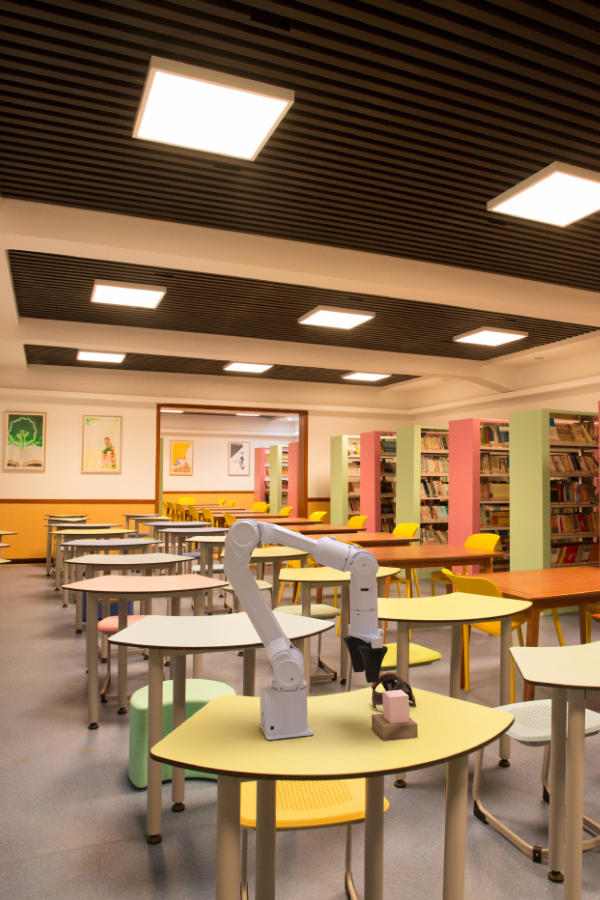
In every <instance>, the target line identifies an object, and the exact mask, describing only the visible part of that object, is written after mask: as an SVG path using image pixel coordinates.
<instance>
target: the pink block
mask: <svg viewBox="0 0 600 900" xmlns="http://www.w3.org/2000/svg"><path fill="white" fill-rule="evenodd" d="M381 693H382V695H383V705H382V714H383V717H384V718H385V719H386V720H387V721H388V722H389V723H390V724H395V723H405V722H410V720H409V717H410V701H409V696H408V695H407V694H406V693H404V692H403V691H402V690H394V691H385V690H384V691H382V692H381Z"/></svg>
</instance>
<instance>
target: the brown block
mask: <svg viewBox="0 0 600 900" xmlns="http://www.w3.org/2000/svg"><path fill="white" fill-rule="evenodd" d="M409 720H410V722H405V723H395V724H390V723H389V722H388V721H387V720H386V719H385V718H384V717H383V713H378V714H377V713H375V714H371V729H372V730H373V731H374V733H376V735H377V736H379V738H380V739H381V740H382V741H383V742H387V741H398V740H406V739H417V738H419V737H418V736H419V735H418V732H419V731H418V723H417V722H416V721H415V720H414V719H413V718H412V717H410V716H409Z"/></svg>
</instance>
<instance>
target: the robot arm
mask: <svg viewBox="0 0 600 900" xmlns="http://www.w3.org/2000/svg"><path fill="white" fill-rule="evenodd" d="M260 542H261V543H260ZM259 543H260V544H261V546H264V545H269V544H280V545H283V546H285V547H289V548H292V549H295V550H299V551H301V552H304V553H307V554H310V555H312V557H313V559H314V561H315V562H316V563H317V564H319V565H322V566H325V567H327V568H331V569H333V570H337V571H339V572H343V573H346V572H349V573H350V574H349V575H350V576H349V577H350V585H349V587H348V588H349V621H350V623H349V624H347V629H348V630H347V633H348V635H349V636H344V637H343V638H342V639H343V642H344V643H345V646H346V648H347V650H348V653H349V656H350V662H351V666H352V670H353V672H354V673H364V675H365V680H366V682H367V683H368V684H369V683H371V684H372V683H374V682H378V679H379V676H380V673H381V672H380V671H381V667H382V663H383V661H384V659H385V656H386V654H387V652H388V646H387V645H384V644H383V637H382V636H381V635H382V634H384V633H385V631H384V629H382V628H379V616H378V615H379V608H378V586H377V581H378V580H377V574H378V572H379V569H380V565H379V564H378V563H379V562H378V559H377V558H376V556H375V555H374V554H373V553H372V552H370V551H368V550H366V549H365V548H362V547H361V548H359V545H358V544H354V543H353V544H352V545H351V544H349V543H345V542H342V541H339V540H337V537H336V536H334V535H330V536H329V537H328V536H326V535H325V536H322V537H320V538H319V539H315V538H313V537H309V536H307V535H304V534H302V533H299V532H297V531H294V530H291V529H289V528H287V527H283V526H281V525H278V524H276V523H271V522H266V521H260V520H259V521H257V520H255V519H253V518H243V519H238V520H236V521H234V522H233V523H232V524H231V525H230V527H229V529H228V531H227V533H226V536H225V538H224V554H223V572H224V574H225V577H226V578H227V580H228V582H229V584H230V586H231V587H232V590H233V591H234V593H235V595H236V597H237V599H238V601H239V602H240V604H241V606H242V608H243V610H244V612H245V613H246V616H247V617H248V618H249V621H250V623H251V624H252V626H253V628H254V630H255V632H256V634H257V635H258V637H259V640H260V641H261V643H262V645H263V646H264V648H265V652H266V655H267V658H268V660H269V663H270V665H271V669H272V678H273V680H272V681H271V685H269V686H267V687H265V686H264V687H262V688H261V689H260V693H259V695H260V697H259V699H260V700H259V701H260V702H259V703H260V704H259V705H260V714H259V715H260V717H259V718H260V723H259V727H260V729H261V731H262V732H263V735H264V737H265V739H266V740H267V741H272V740H280V739H287V738H291V739H292V738H297V737H298V738H299V737H307V736H314V735H315V734H314V731H313V729H312V728H311V727H310V725H309V724H308V681H307V680H305V673H306V671H305V656H304V655H303V652H302V651H301V650H300V649H299V648H297V647H296V646H294V645H293V644H292V642H291V640H290V638H288V636H287V634H286V633H285V632H284V630H283V628H282V627H281V625H280V623H279V621H278V619H277V618H276V616H275V614H274V612H273V611H272V609H271V607H270V605H269V603H268V601H267V599H266V598H265V595H264V594H263V592H262V590H261V588H260V587H259V585H258V583H257V581H256V579H255V577H254V575H253V574H252V572H251V570H250V568H249V565H250V562H251V558H252V555H253V552H254V550H255V549H256V548H257V546H258V545H259Z"/></svg>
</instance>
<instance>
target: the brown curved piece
mask: <svg viewBox="0 0 600 900" xmlns="http://www.w3.org/2000/svg"><path fill="white" fill-rule="evenodd" d="M380 684H381V686H382V687H383V689H384V691H394V690H402V691H403V692H404V693H406V694H407V695H408V696H409V702H411V703H412V704H413V707H414V706H416V707H417V703H416V698H415V695H414V693H413V689H412V686H411V684H410V682H408V680H406V679H405V678H403V677H401V676H400V675H399V674H398V673H396V672H393V671H387V672H385V673H382V674H381V675H380V674H379V679H378V682H374V683H371V686H370V688H371V689H372V690H371V691H372V692H371V703H372V705H373V707H374V708H376V707H377V706H378V705H379V706H383V695H382V692H379V691H377V690H376V689H377V688H378V686H379V685H380Z"/></svg>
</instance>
